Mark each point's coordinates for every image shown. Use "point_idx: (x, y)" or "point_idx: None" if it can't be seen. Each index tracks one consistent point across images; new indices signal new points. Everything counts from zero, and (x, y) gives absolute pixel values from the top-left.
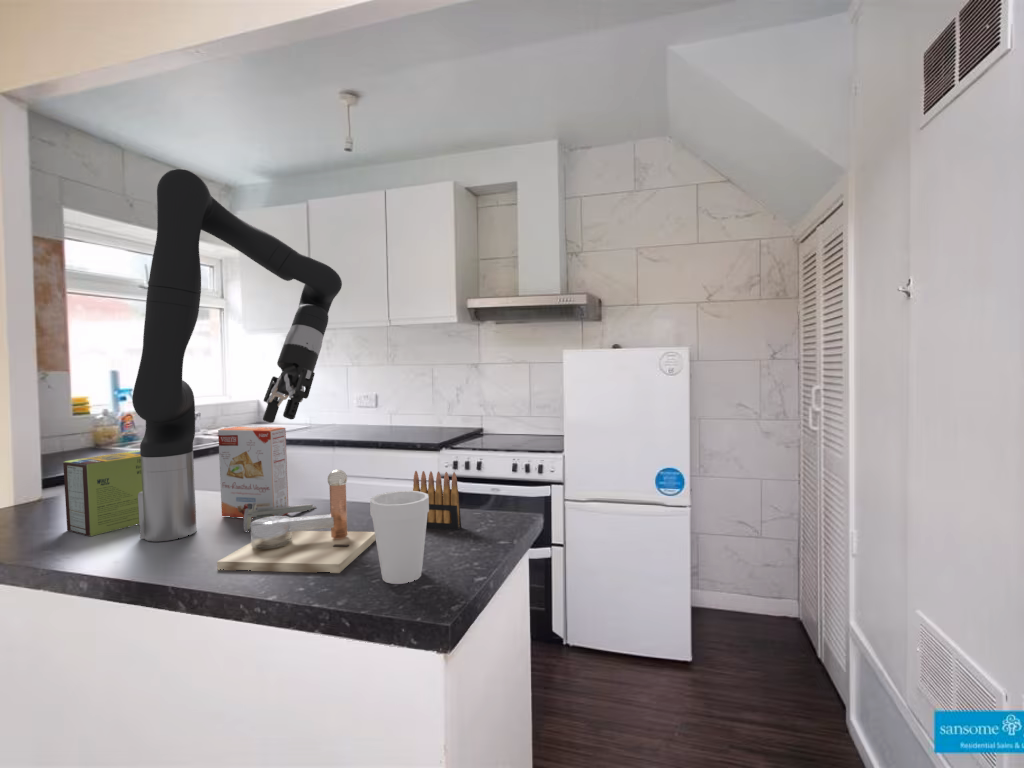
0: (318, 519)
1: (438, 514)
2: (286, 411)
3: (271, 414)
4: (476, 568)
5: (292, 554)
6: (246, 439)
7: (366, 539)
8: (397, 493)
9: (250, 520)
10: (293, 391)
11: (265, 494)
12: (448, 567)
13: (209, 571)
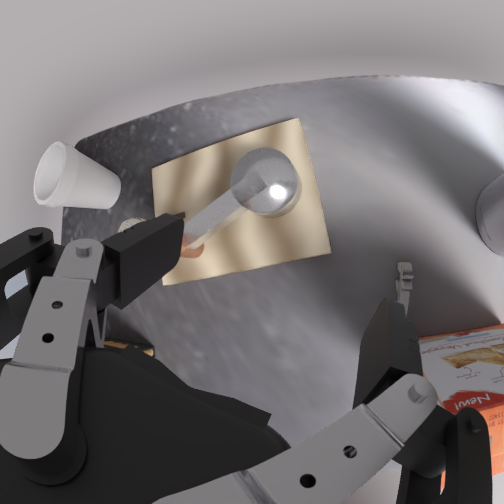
0: (195, 216)
1: (111, 344)
2: (155, 222)
3: (371, 346)
4: (70, 230)
5: (217, 170)
6: None
7: None
8: (53, 192)
9: (399, 270)
10: (58, 270)
11: (427, 347)
12: (84, 224)
13: (307, 117)
